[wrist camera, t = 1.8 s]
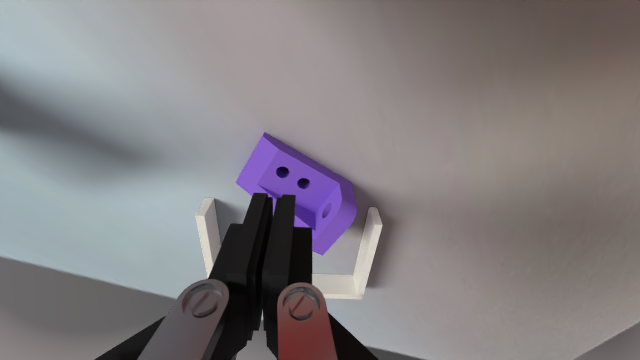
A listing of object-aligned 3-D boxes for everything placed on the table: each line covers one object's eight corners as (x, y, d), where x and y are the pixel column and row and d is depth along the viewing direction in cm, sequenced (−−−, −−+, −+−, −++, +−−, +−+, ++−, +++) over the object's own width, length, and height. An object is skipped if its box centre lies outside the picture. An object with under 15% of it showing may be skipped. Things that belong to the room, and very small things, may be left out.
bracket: (350, 180, 33) (359, 215, 27) (320, 217, 36) (322, 255, 30) (264, 131, 29) (253, 158, 23) (239, 176, 32) (222, 210, 26)
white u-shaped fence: (205, 197, 33) (195, 215, 30) (376, 207, 35) (382, 225, 32) (218, 274, 41) (211, 294, 38) (358, 279, 42) (362, 299, 39)
